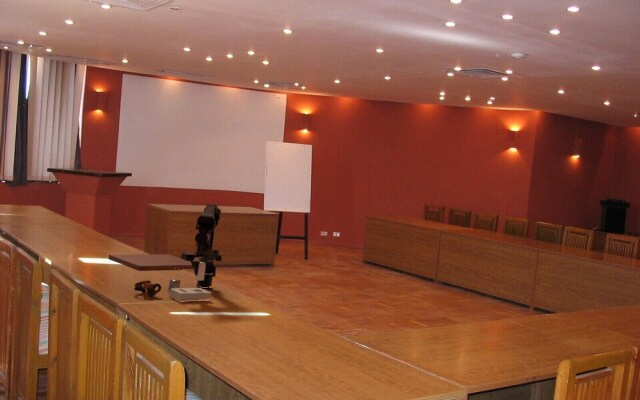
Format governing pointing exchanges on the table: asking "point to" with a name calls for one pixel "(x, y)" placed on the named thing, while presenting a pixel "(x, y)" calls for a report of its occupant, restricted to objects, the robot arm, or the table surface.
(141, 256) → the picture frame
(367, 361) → the table surface
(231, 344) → the table surface
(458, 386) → the table surface
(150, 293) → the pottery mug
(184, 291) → the socket block
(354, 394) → the table surface
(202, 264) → the square peg
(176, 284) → the round dowel
